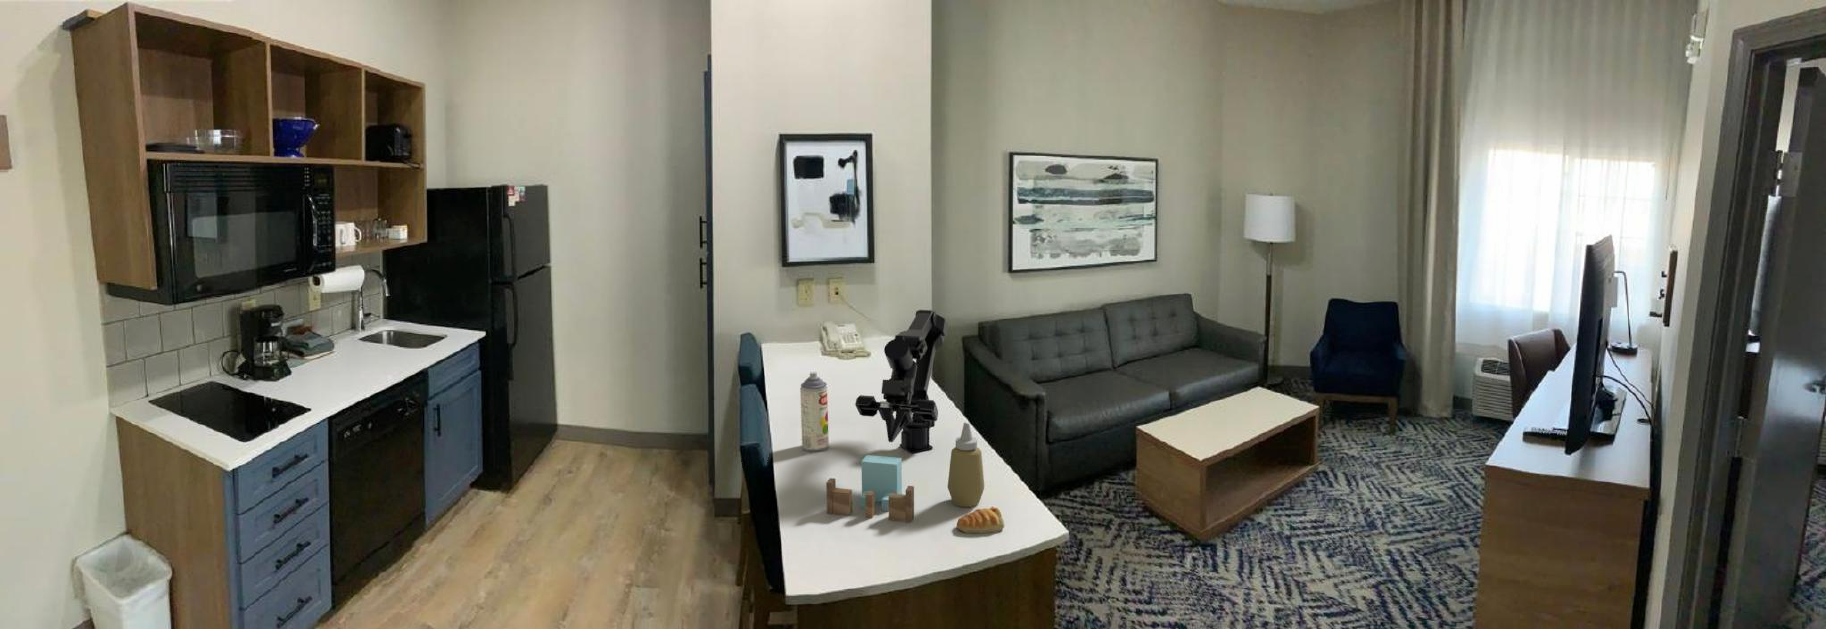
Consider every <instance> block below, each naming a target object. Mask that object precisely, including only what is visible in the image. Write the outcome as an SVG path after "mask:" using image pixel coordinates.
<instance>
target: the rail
mask: <svg viewBox="0 0 1826 629" xmlns="http://www.w3.org/2000/svg"><path fill="white" fill-rule="evenodd" d="M836 482H837V481H836V478H833V477H829V479H828V480H827V481H826V485H825V486H826V488H825V489H826V514H828V515H829V514H830V515H843V516H851V514H852V513H853V489H851V488H842V487H840V488H839V487H837V486H836ZM865 500H866V509H865V518H869V519H873V517H874V516H875V514H876V501H875V492H873V491H868V492H867V493H866V495H865ZM914 518H915V486H914V485H908V486H907V487H906V489H905V494H903V493H902V494H893V493H891V494H890V496H889V511H888V520H889V521H890V520H891V521H899V522H905V523H913V520H914Z"/></svg>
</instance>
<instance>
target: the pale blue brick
mask: <svg viewBox="0 0 1826 629" xmlns="http://www.w3.org/2000/svg"><path fill="white" fill-rule="evenodd" d="M902 461H903V460H902V457H893V456H884V455H883V456H882V455H872V454H871V455H870V454H866V455H865V457H864V458H863V459H862V460H861V461H860V462H861V494H860V496H859V509H865V510H866V500H865V495H866V493H867V492H868V491H873V492H875V503H877V502H878V503H881V511H885V512H889V496H890V494H891V493H893V494H903V478H902V477H903V472H902V469H903V466H902V464H903V462H902Z"/></svg>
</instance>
